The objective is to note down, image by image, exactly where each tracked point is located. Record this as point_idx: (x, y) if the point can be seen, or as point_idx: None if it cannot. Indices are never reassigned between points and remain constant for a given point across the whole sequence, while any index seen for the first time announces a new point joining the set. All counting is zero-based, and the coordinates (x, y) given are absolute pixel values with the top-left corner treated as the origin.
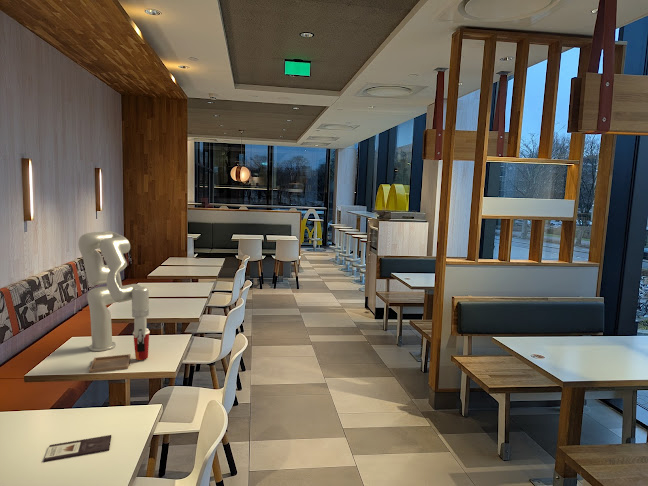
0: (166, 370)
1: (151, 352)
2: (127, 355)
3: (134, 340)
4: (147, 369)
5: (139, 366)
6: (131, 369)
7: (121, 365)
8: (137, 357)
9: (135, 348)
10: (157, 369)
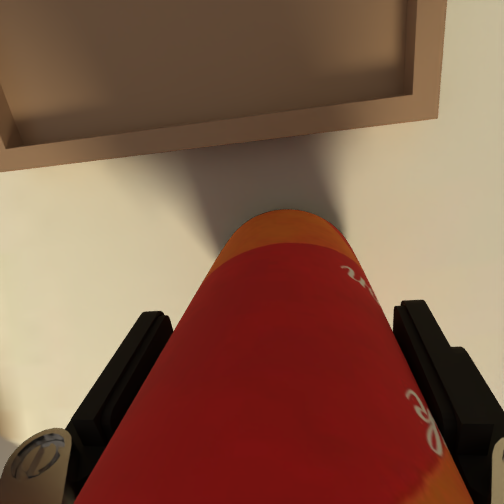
0: (25, 440)
1: (492, 328)
2: (410, 77)
3: (156, 409)
4: (29, 334)
5: (92, 266)
6: (13, 205)
7: (84, 70)
8: (222, 249)
9: (205, 292)
10: (36, 394)
